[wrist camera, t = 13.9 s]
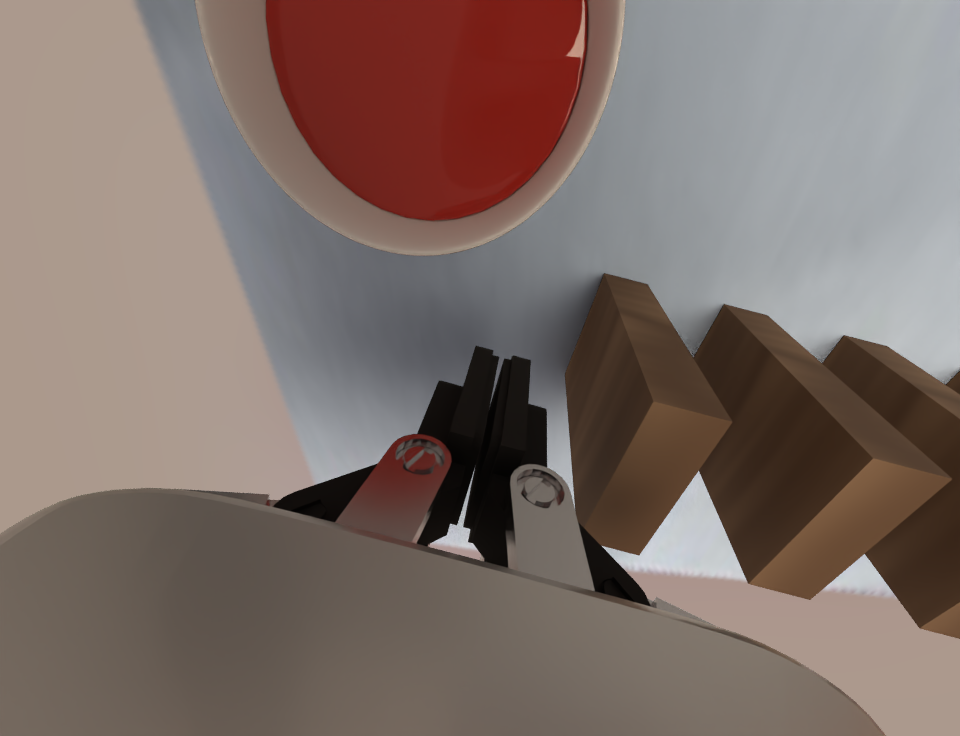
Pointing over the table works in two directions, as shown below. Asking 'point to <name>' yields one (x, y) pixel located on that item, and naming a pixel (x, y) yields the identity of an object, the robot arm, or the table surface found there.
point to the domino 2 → (801, 459)
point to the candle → (415, 107)
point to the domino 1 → (635, 416)
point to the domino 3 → (941, 519)
